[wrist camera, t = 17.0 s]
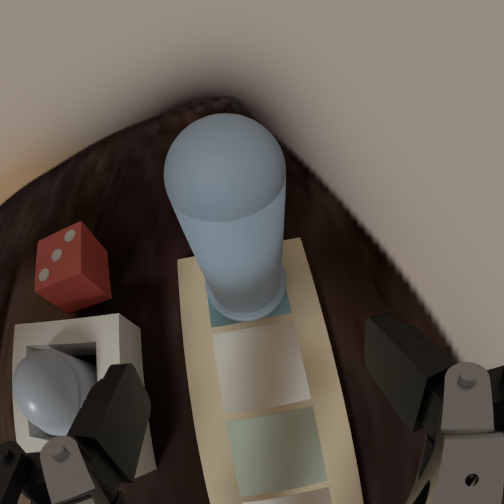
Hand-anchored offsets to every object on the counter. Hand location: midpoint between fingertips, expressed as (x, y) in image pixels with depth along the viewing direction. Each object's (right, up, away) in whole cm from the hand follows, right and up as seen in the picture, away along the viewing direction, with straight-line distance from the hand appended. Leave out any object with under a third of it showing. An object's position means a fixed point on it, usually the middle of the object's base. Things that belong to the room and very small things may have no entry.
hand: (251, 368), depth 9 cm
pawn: (0, +2, +8) cm, 8 cm away
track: (+1, -5, +5) cm, 7 cm away
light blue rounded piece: (-11, -5, +5) cm, 13 cm away
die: (-12, +2, +10) cm, 16 cm away
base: (-11, -6, +5) cm, 13 cm away
